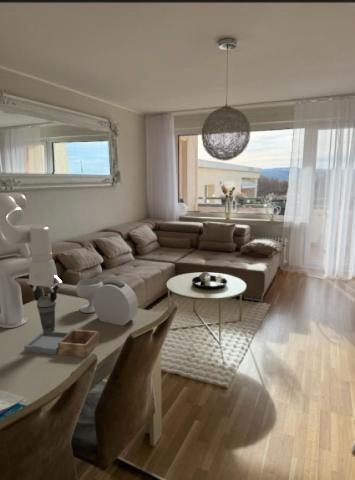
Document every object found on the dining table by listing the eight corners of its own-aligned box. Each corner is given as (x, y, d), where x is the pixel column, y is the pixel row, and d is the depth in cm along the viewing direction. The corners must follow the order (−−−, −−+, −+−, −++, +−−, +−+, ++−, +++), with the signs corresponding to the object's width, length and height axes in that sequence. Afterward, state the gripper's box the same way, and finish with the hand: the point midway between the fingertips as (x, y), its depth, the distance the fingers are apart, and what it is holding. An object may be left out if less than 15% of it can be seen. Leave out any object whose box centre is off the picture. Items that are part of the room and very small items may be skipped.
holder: (58, 354, 132) (57, 343, 131) (73, 340, 143) (72, 329, 142) (87, 357, 130) (86, 345, 129) (99, 342, 141) (99, 331, 140)
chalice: (72, 312, 172) (69, 284, 169) (88, 302, 185) (86, 276, 182) (95, 315, 168) (93, 287, 165) (109, 305, 181) (108, 279, 178)
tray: (24, 351, 135) (24, 346, 134) (44, 335, 148) (43, 330, 148) (56, 354, 132) (55, 349, 132) (73, 337, 146) (73, 332, 145)
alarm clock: (138, 320, 161) (137, 281, 158) (130, 327, 155) (128, 286, 151) (103, 313, 170) (101, 276, 166) (93, 319, 164) (91, 280, 160)
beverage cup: (51, 335, 134) (47, 288, 131) (35, 333, 136) (30, 287, 132) (61, 327, 141) (57, 282, 138) (46, 326, 143) (41, 281, 139)
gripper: (16, 258, 131) (21, 302, 134) (56, 260, 127) (60, 304, 131) (28, 254, 138) (32, 295, 141) (66, 255, 135) (70, 298, 138)
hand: (46, 299), depth 136 cm, fingers closed on beverage cup, 6 cm apart
